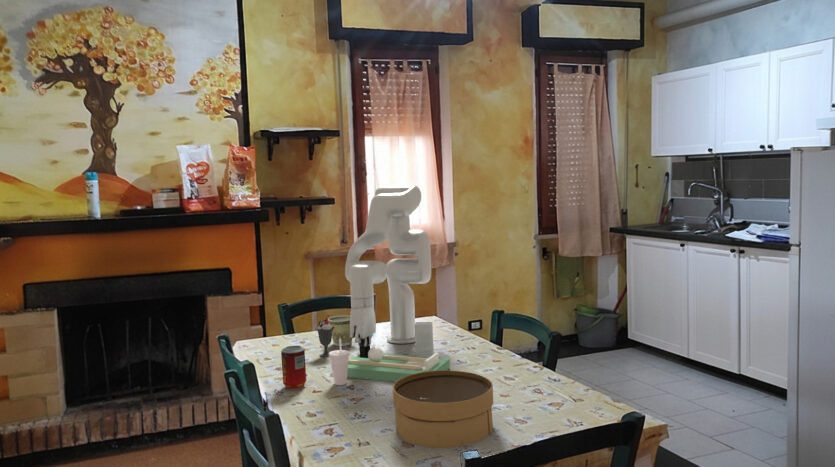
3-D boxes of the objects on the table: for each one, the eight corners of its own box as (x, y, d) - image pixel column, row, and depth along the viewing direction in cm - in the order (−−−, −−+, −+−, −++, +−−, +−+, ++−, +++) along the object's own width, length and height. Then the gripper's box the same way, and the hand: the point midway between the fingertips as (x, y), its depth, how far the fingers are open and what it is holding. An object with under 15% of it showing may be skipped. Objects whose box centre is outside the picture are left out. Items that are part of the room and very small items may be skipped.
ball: (373, 343, 211) (385, 345, 209) (374, 357, 213) (387, 359, 210) (363, 349, 207) (376, 351, 205) (365, 363, 208) (378, 366, 206)
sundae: (334, 357, 227) (332, 316, 225) (315, 358, 227) (313, 316, 226) (337, 352, 233) (335, 312, 232) (318, 353, 233) (316, 312, 232)
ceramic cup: (325, 346, 242) (323, 320, 241) (336, 340, 252) (334, 315, 251) (357, 348, 238) (355, 321, 238) (366, 341, 248) (365, 315, 247)
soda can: (311, 384, 198) (309, 345, 196) (296, 391, 192) (293, 351, 190) (294, 381, 201) (291, 343, 200) (278, 388, 195) (275, 349, 194)
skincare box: (434, 354, 225) (432, 321, 224) (433, 358, 221) (431, 324, 220) (417, 355, 226) (415, 321, 225) (415, 358, 222) (414, 324, 221)
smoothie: (347, 386, 194) (345, 341, 193) (327, 386, 195) (324, 341, 194) (353, 380, 200) (351, 336, 199) (334, 379, 202) (331, 336, 200)
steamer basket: (486, 406, 173) (485, 366, 172) (502, 447, 148) (500, 399, 147) (395, 412, 172) (392, 371, 171) (395, 453, 147) (392, 406, 146)
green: (363, 360, 222) (362, 343, 221) (449, 367, 209) (449, 349, 209) (336, 376, 205) (335, 357, 205) (428, 385, 193) (428, 365, 192)
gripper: (363, 297, 218) (366, 350, 219) (340, 306, 204) (343, 362, 206) (383, 298, 215) (385, 352, 216) (361, 307, 201) (364, 364, 203)
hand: (365, 357), depth 211 cm, fingers closed
